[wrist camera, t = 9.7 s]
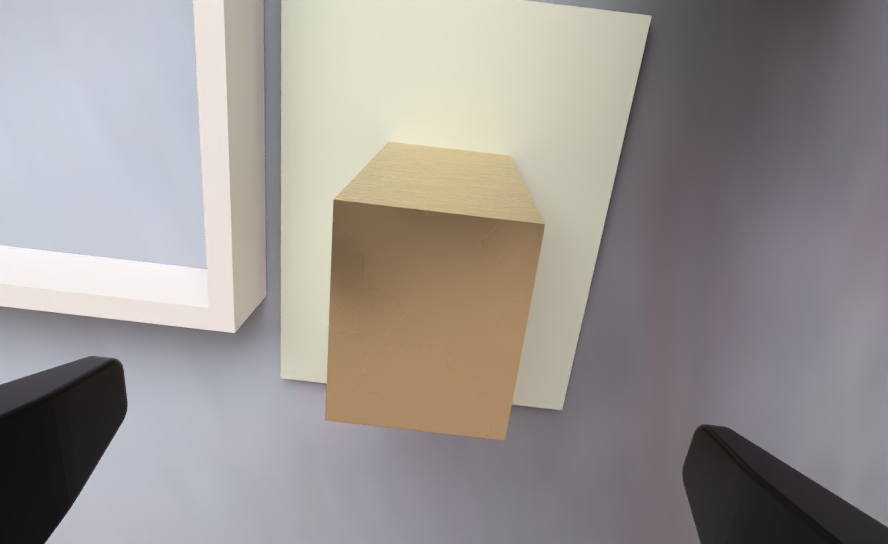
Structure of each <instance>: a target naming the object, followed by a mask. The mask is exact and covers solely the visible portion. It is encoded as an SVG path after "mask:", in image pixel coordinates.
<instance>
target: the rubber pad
mask: <svg viewBox="0 0 888 544" xmlns="http://www.w3.org/2000/svg"><path fill="white" fill-rule="evenodd" d="M650 21H651V16H650V15H642V14H633V13H625V12H617V11H608V10H600V9H592V8H583V7H575V6H567V5H558V4H550V3H542V2H533V1H525V0H281V378H284V379H293V380H302V381H310V382H319V383H327V360H328V333H329V305H330V278H331V251H332V224H333V199H334V198H335V197H336V196H337V195H338V194H339V193H340V192H341V191H342V190H343V189H344V188H345V187H346V186H347V185H348V184H349V183H350V182H351V181H352V179H353V178H354V177H355V176H356V175H357V174H358V173H359V172H360V171H361V170H362V169H363V168H364V167H365V166H366V165H367V164H368V163H369V162H370V161H371V160H372V158H373V157H374V156H375V155H376V154H377V153H378V152H379V151H380V150H381V149H382V148H383V147H384V146H385V145H386V144H387V143H388V142H398V143H406V144H415V145H423V146H432V147H440V148H449V149H458V150H466V151H475V152H483V153H492V154H500V155H509V156H511V157H512V159H513V161H514V163H515V165H516V167H517V169H518V171H519V173H520V175H521V177H522V179H523V181H524V183H525V185H526V187H527V189H528V191H529V193H530V195H531V197H532V199H533V201H534V203H535V205H536V207H537V209H538V211H539V213H540V215H541V217H542V219H543V221H544V223H545V229H544V234H543V239H542V245H541V250H540V256H539V261H538V266H537V272H536V277H535V283H534V288H533V293H532V299H531V304H530V310H529V315H528V320H527V326H526V331H525V337H524V342H523V347H522V353H521V358H520V363H519V369H518V374H517V380H516V385H515V390H514V396H513V401H512V405H520V406H529V407H538V408H547V409H555V410H562V408H563V404H564V399H565V395H566V391H567V386H568V382H569V377H570V373H571V369H572V364H573V360H574V355H575V351H576V347H577V342H578V338H579V333H580V329H581V325H582V320H583V316H584V311H585V307H586V303H587V298H588V294H589V289H590V285H591V281H592V276H593V272H594V267H595V263H596V259H597V254H598V250H599V245H600V241H601V237H602V232H603V228H604V223H605V219H606V215H607V210H608V206H609V201H610V197H611V193H612V188H613V184H614V179H615V175H616V171H617V166H618V162H619V157H620V153H621V148H622V144H623V140H624V135H625V131H626V126H627V122H628V118H629V113H630V109H631V104H632V100H633V96H634V91H635V87H636V82H637V78H638V74H639V69H640V65H641V60H642V56H643V52H644V47H645V43H646V38H647V34H648V30H649V25H650Z"/></svg>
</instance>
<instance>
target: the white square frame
mask: <svg viewBox="0 0 888 544" xmlns="http://www.w3.org/2000/svg"><path fill="white" fill-rule="evenodd" d="M193 10H194V30H195V49H196V68H197V87H198V107H199V126H200V145H201V164H202V184H203V203H204V222H205V241H206V261H207V269H201V268H192V267H184V266H175V265H166V264H158V263H149V262H140V261H132V260H123V259H115V258H106V257H97V256H89V255H80V254H71V253H63V252H54V251H45V250H37V249H28V248H20V247H11V246H2V245H0V306H4V307H13V308H21V309H30V310H39V311H47V312H56V313H65V314H73V315H82V316H91V317H100V318H108V319H117V320H126V321H134V322H143V323H152V324H161V325H169V326H178V327H187V328H195V329H204V330H213V331H222V332H230V333H235V332H236V331H237V330H238V329H239V327H240V326H241V325H242V324H243V323H244V322H245V320H246V319H247V318H248V317H249V316H250V314H251V313H252V312H253V311H254V310H255V309H256V307H257V306H258V305H259V304H260V303H261V301H262V300H263V299H264V298H265V297H266V203H265V95H264V0H193Z"/></svg>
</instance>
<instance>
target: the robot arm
mask: <svg viewBox="0 0 888 544" xmlns="http://www.w3.org/2000/svg"><path fill="white" fill-rule="evenodd" d="M126 412H127V394H126V386H125V377H124V369H123V365H122V363H121V362H120V361H119V360H118V359H115V358H107V357H98V356H89V357H86V358H83V359H79V360H76V361H73V362H70V363H67V364H64V365H61V366H58V367H54V368H51V369H48V370H45V371H42V372H39V373H36V374H33V375H29V376H26V377H23V378H20V379H17V380H14V381H11V382H8V383H4V384H1V385H0V544H45V542H46V541H47V540H48V538H49V537H50V536H51V534H52V533H53V532H54V530H55V529H56V528H57V526H58V525H59V523H60V522H61V521H62V519H63V518H64V516H65V515H66V514H67V512H68V511H69V509H70V508H71V506H72V505H73V503H74V502H75V500H76V499H77V497H78V495H79V494H80V492H81V491H82V489H83V487H84V486H85V484H86V482H87V481H88V479H89V477H90V476H91V474H92V472H93V471H94V469H95V467H96V466H97V464H98V462H99V461H100V459H101V457H102V456H103V454H104V452H105V451H106V449H107V447H108V446H109V444H110V442H111V441H112V439H113V437H114V435H115V434H116V432H117V430H118V429H119V427H120V425H121V424H122V422H123V420H124V418H125V415H126ZM683 483H684V486H685V490H686V493H687V497H688V501H689V504H690V508H691V511H692V515H693V518H694V522H695V525H696V529H697V532H698V536H699V539H700V543H701V544H888V527H886V526H885V525H883V524H881V523H880V522H878V521H877V520H875V519H874V518H872V517H870V516H869V515H867V514H866V513H864V512H862V511H861V510H859V509H858V508H856V507H854V506H853V505H851V504H850V503H848V502H846V501H845V500H843V499H842V498H840V497H838V496H837V495H835V494H834V493H832V492H830V491H829V490H827V489H826V488H824V487H822V486H821V485H819V484H818V483H816V482H814V481H813V480H811V479H810V478H808V477H806V476H805V475H803V474H802V473H800V472H798V471H797V470H795V469H794V468H792V467H790V466H789V465H787V464H786V463H784V462H782V461H781V460H779V459H778V458H776V457H774V456H773V455H771V454H770V453H768V452H767V451H765V450H763V449H762V448H760V447H759V446H757V445H755V444H754V443H752V442H751V441H749V440H747V439H746V438H744V437H743V436H741V435H739V434H738V433H736V432H735V431H733V430H731V429H730V428H727V427H724V426H715V425H705V424H703V425H700V426H699V427H698V428H697V429H696V430H695V433H694V435H693V438H692V441H691V444H690V447H689V450H688V453H687V456H686V459H685V462H684V465H683Z"/></svg>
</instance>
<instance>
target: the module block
mask: <svg viewBox="0 0 888 544" xmlns="http://www.w3.org/2000/svg"><path fill="white" fill-rule="evenodd" d="M544 229H545V223H544V221H543V219H542V217H541V215H540V213H539V211H538V209H537V207H536V205H535V203H534V201H533V199H532V197H531V195H530V193H529V191H528V189H527V187H526V185H525V183H524V181H523V179H522V177H521V175H520V173H519V171H518V169H517V167H516V165H515V163H514V161H513V159H512V157H511V156H509V155H500V154H492V153H483V152H475V151H466V150H458V149H449V148H440V147H432V146H423V145H415V144H406V143H398V142H388V143H387V144H386V145H385V146H384V147H383V148H382V149H381V150H380V151H379V152H378V153H377V154H376V155H375V156H374V157H373V158H372V160H371V161H370V162H369V163H368V164H367V165H366V166H365V167H364V168H363V169H362V170H361V171H360V172H359V173H358V174H357V175H356V176H355V177H354V178H353V179H352V181H351V182H350V183H349V184H348V185H347V186H346V187H345V188H344V189H343V190H342V191H341V192H340V193H339V194H338V195H337V196H336V197H335V198H334V199H333V224H332V251H331V278H330V305H329V333H328V360H327V387H326V414H325V420H327V421H336V422H345V423H354V424H363V425H372V426H380V427H389V428H398V429H407V430H416V431H425V432H433V433H442V434H451V435H460V436H469V437H478V438H486V439H495V440H504V441H505V439H506V434H507V428H508V423H509V417H510V412H511V407H512V401H513V396H514V390H515V385H516V380H517V374H518V369H519V363H520V358H521V353H522V347H523V342H524V337H525V331H526V326H527V320H528V315H529V310H530V304H531V299H532V293H533V288H534V283H535V277H536V272H537V266H538V261H539V256H540V250H541V245H542V239H543V234H544Z"/></svg>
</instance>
